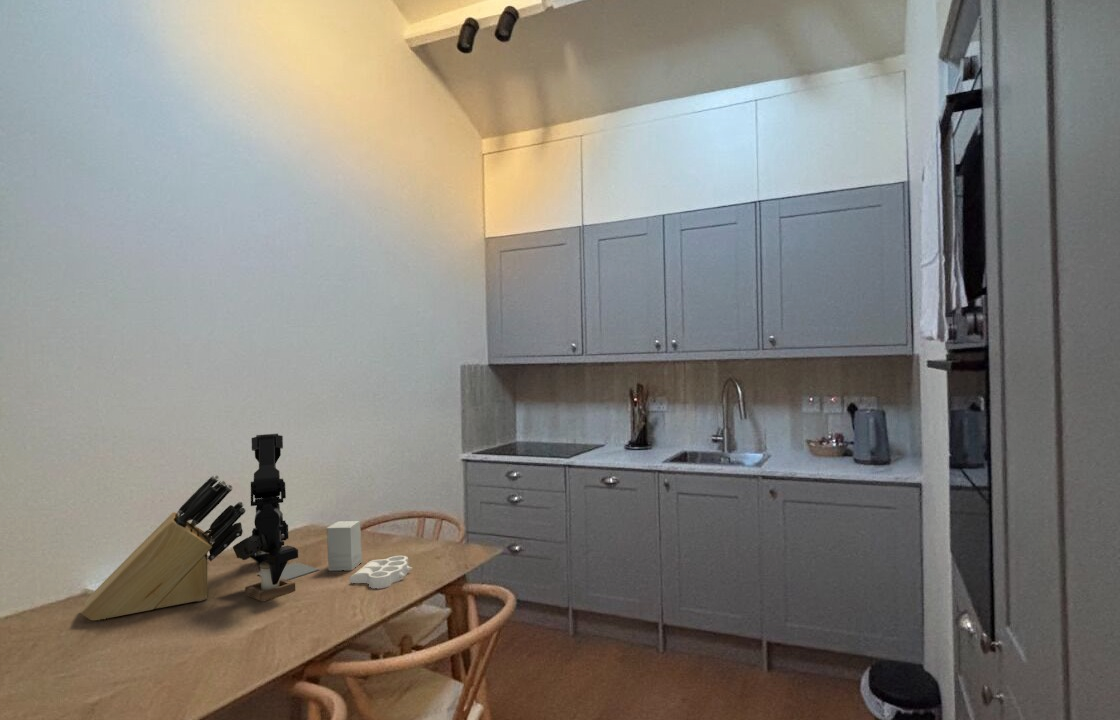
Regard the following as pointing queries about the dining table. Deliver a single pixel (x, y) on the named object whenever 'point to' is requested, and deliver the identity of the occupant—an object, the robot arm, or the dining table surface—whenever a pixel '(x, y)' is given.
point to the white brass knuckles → (382, 572)
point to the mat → (295, 571)
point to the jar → (266, 577)
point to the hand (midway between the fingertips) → (270, 582)
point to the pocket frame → (261, 595)
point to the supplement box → (344, 545)
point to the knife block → (170, 559)
